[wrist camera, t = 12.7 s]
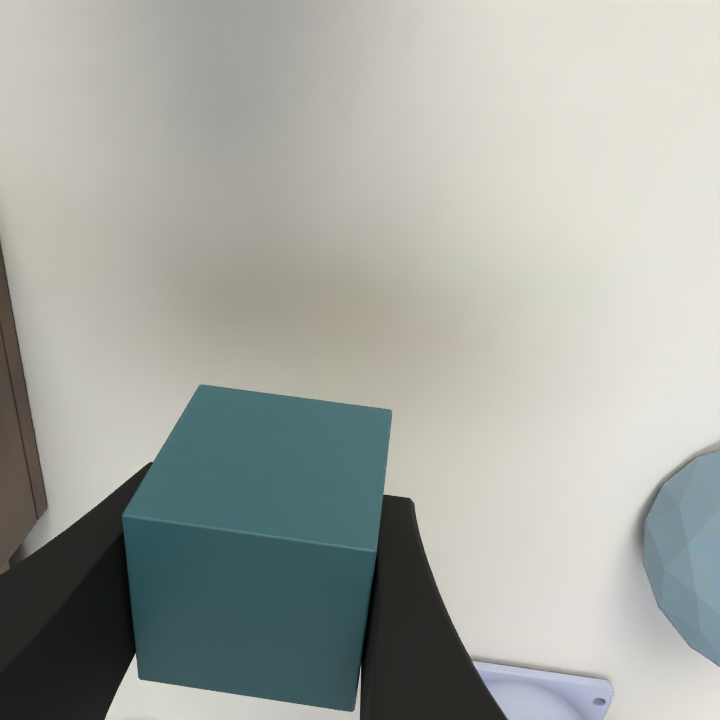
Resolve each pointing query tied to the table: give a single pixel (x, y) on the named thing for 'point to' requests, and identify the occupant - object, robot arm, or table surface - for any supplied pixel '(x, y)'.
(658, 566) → the gemstone
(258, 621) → the block
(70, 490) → the table surface
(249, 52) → the table surface
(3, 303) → the cabinet
